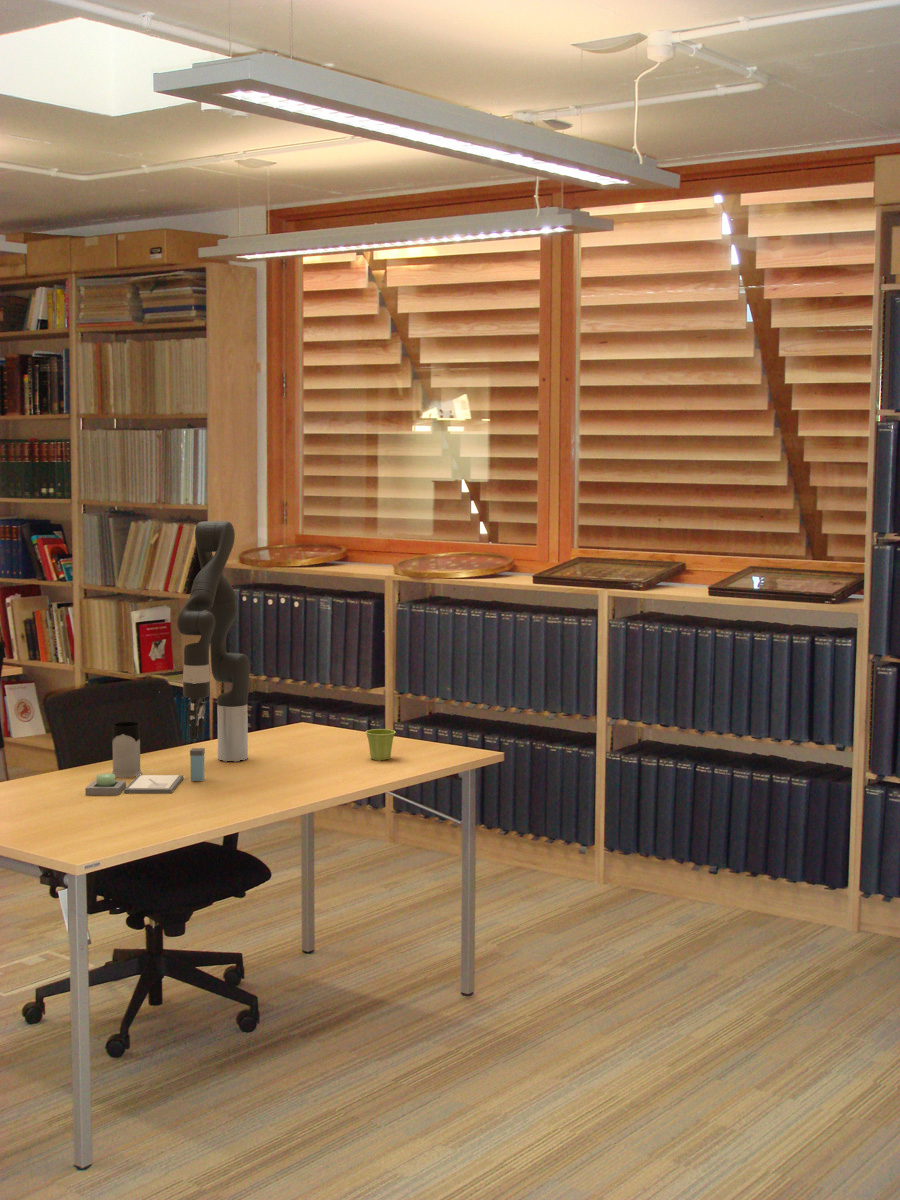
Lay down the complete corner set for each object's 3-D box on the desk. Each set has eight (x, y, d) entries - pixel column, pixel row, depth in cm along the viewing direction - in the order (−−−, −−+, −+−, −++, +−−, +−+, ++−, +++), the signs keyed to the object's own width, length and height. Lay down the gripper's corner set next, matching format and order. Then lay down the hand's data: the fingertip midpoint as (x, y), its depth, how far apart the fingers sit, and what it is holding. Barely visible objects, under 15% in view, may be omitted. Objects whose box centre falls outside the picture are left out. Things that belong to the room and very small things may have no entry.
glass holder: (108, 777, 373) (107, 726, 372) (119, 767, 387) (119, 718, 386) (138, 777, 373) (137, 727, 372) (148, 767, 388) (148, 718, 386)
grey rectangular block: (192, 778, 373) (192, 748, 372) (204, 778, 373) (204, 748, 372) (190, 781, 369) (190, 750, 368) (202, 781, 369) (202, 750, 368)
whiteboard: (138, 778, 373) (138, 774, 372) (183, 778, 373) (183, 774, 373) (124, 793, 355) (124, 788, 355) (171, 793, 355) (171, 788, 355)
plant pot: (367, 755, 407) (367, 728, 406) (396, 756, 407) (396, 728, 406) (364, 761, 398) (364, 734, 397) (394, 762, 397) (394, 734, 397)
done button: (99, 782, 359) (98, 773, 359) (117, 782, 359) (116, 773, 359) (94, 786, 354) (94, 777, 354) (112, 786, 354) (112, 777, 354)
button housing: (93, 787, 361) (93, 780, 361) (125, 787, 361) (125, 780, 361) (85, 795, 352) (85, 788, 352) (118, 795, 352) (118, 788, 352)
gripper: (187, 676, 376) (188, 731, 377) (178, 683, 361) (178, 740, 363) (213, 676, 376) (213, 731, 377) (205, 683, 362) (205, 740, 363)
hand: (196, 735), depth 370 cm, fingers open, 8 cm apart
